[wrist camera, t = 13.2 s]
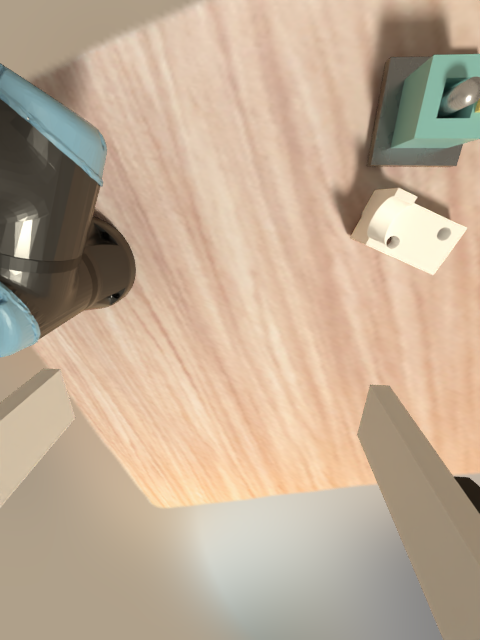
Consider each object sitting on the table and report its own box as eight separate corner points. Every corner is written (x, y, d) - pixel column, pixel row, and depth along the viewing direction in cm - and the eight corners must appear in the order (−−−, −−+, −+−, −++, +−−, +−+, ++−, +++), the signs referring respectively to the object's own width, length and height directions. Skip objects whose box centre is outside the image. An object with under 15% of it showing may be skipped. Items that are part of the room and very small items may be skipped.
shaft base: (366, 166, 37) (399, 156, 29) (385, 63, 33) (430, 14, 24) (449, 166, 37) (507, 156, 28) (479, 62, 32) (560, 11, 24)
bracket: (347, 237, 42) (365, 244, 35) (374, 190, 39) (398, 187, 32) (420, 269, 43) (451, 282, 36) (450, 225, 40) (490, 231, 33)
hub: (404, 79, 32) (437, 51, 26) (466, 78, 32) (513, 50, 26) (390, 147, 35) (416, 137, 29) (446, 148, 35) (485, 137, 29)
